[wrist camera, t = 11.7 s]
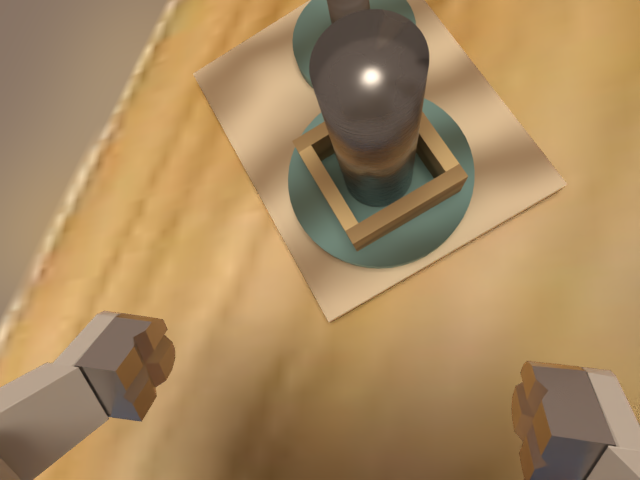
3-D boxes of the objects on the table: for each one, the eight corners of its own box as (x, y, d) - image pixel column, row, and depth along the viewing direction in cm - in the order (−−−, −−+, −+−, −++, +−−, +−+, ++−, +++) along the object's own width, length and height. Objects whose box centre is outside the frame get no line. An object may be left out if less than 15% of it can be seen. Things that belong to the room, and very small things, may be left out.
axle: (425, 184, 24) (454, 74, 13) (366, 219, 24) (345, 139, 13) (389, 131, 25) (388, -12, 14) (332, 165, 25) (288, 50, 14)
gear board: (559, 190, 25) (628, 138, 17) (331, 322, 26) (307, 324, 18) (386, -34, 29) (385, -147, 22) (200, 83, 30) (141, 11, 23)
